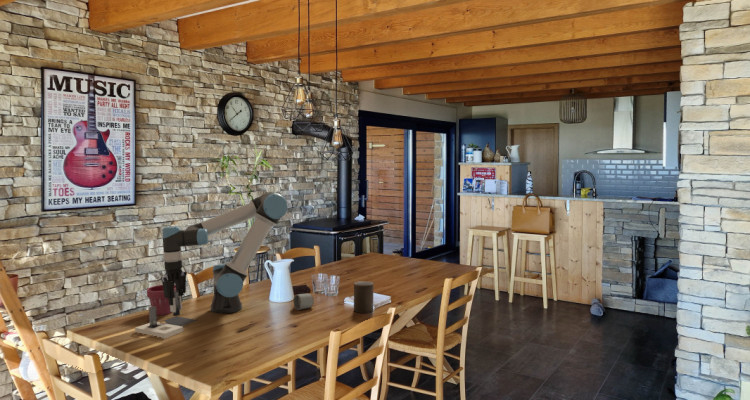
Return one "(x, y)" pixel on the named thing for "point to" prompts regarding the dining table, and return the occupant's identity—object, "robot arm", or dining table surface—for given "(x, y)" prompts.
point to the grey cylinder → (303, 301)
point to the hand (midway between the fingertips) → (176, 310)
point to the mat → (179, 321)
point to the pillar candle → (363, 297)
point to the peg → (176, 303)
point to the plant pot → (159, 299)
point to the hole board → (160, 330)
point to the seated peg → (153, 316)
